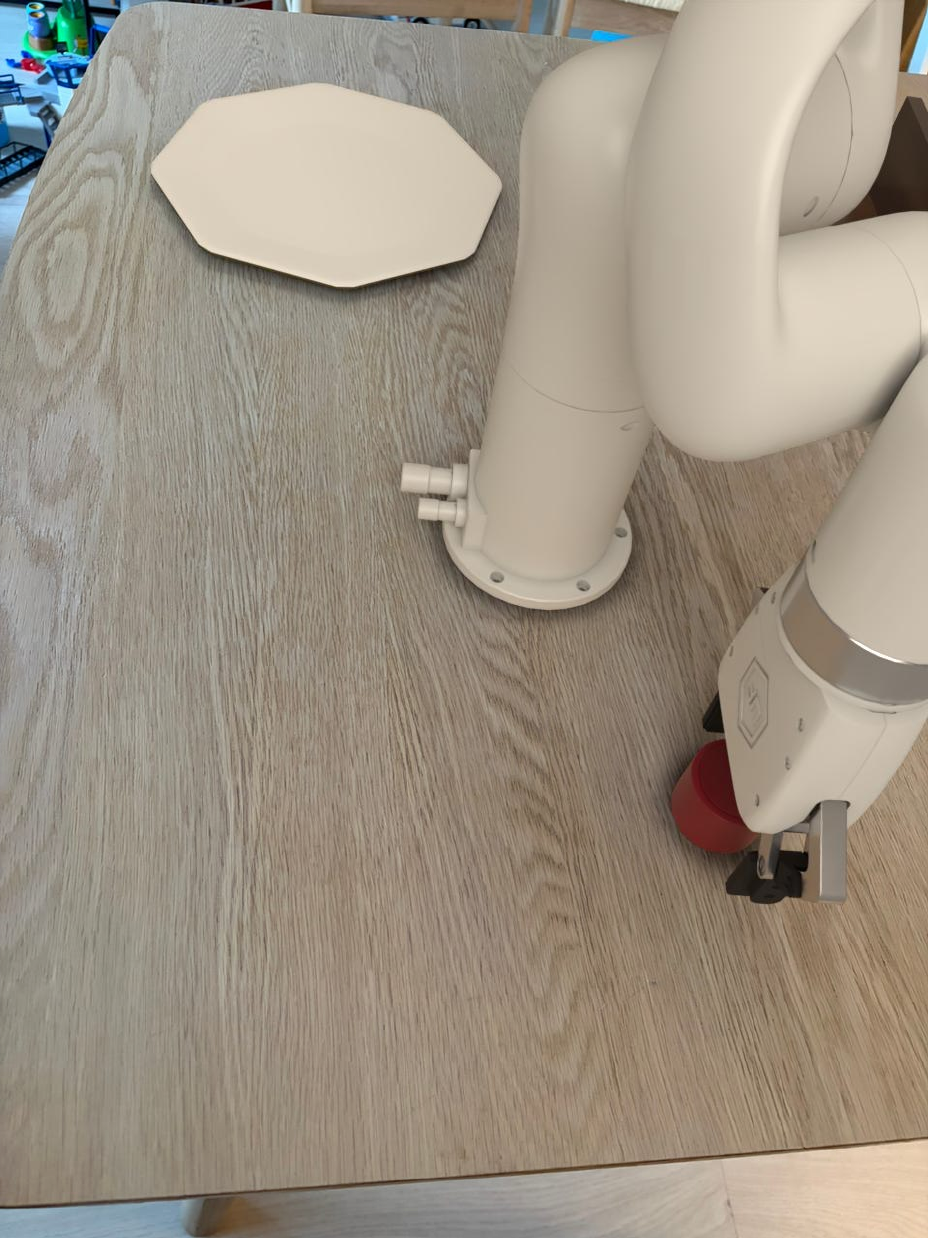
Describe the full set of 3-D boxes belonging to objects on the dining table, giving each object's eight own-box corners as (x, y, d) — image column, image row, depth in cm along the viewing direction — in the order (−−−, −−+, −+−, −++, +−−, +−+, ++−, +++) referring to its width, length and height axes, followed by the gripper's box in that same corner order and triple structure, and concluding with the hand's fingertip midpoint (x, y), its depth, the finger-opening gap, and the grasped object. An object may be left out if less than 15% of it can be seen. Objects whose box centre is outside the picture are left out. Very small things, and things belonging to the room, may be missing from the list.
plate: (521, 150, 95) (524, 134, 94) (444, 331, 79) (447, 315, 78) (238, 73, 96) (237, 57, 95) (105, 237, 80) (102, 220, 79)
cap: (675, 850, 56) (698, 820, 53) (666, 765, 59) (687, 732, 56) (766, 857, 57) (794, 828, 54) (752, 773, 60) (779, 740, 57)
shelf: (722, 386, 80) (804, 200, 67) (699, 259, 89) (767, 74, 76) (869, 403, 81) (979, 224, 68) (831, 277, 90) (922, 97, 77)
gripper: (756, 459, 47) (657, 668, 61) (830, 800, 37) (691, 960, 50) (912, 475, 48) (780, 678, 61) (1030, 814, 37) (838, 969, 51)
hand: (740, 805), depth 56 cm, fingers open, 9 cm apart
